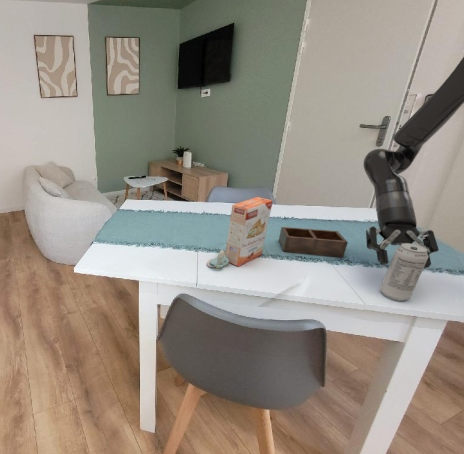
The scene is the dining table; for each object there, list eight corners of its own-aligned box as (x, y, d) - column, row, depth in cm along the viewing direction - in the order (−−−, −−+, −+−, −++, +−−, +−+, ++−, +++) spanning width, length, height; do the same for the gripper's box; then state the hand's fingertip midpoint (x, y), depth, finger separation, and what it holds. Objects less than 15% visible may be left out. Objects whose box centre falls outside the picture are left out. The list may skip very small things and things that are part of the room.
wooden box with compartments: (333, 245, 108) (337, 231, 105) (343, 257, 100) (348, 242, 97) (278, 240, 114) (281, 226, 111) (283, 251, 105) (286, 237, 103)
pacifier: (202, 266, 100) (218, 272, 95) (203, 249, 97) (220, 255, 93) (214, 258, 104) (230, 264, 99) (215, 242, 101) (232, 248, 97)
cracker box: (238, 267, 97) (248, 209, 89) (223, 260, 102) (230, 204, 94) (263, 255, 104) (273, 199, 95) (247, 249, 108) (256, 195, 100)
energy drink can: (409, 295, 80) (431, 246, 74) (408, 305, 76) (431, 255, 70) (380, 286, 84) (398, 240, 78) (378, 296, 80) (397, 248, 74)
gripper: (371, 203, 81) (380, 259, 76) (437, 206, 77) (451, 265, 72) (357, 214, 88) (364, 266, 82) (416, 217, 84) (428, 272, 78)
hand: (404, 266), depth 77 cm, fingers open, 8 cm apart
